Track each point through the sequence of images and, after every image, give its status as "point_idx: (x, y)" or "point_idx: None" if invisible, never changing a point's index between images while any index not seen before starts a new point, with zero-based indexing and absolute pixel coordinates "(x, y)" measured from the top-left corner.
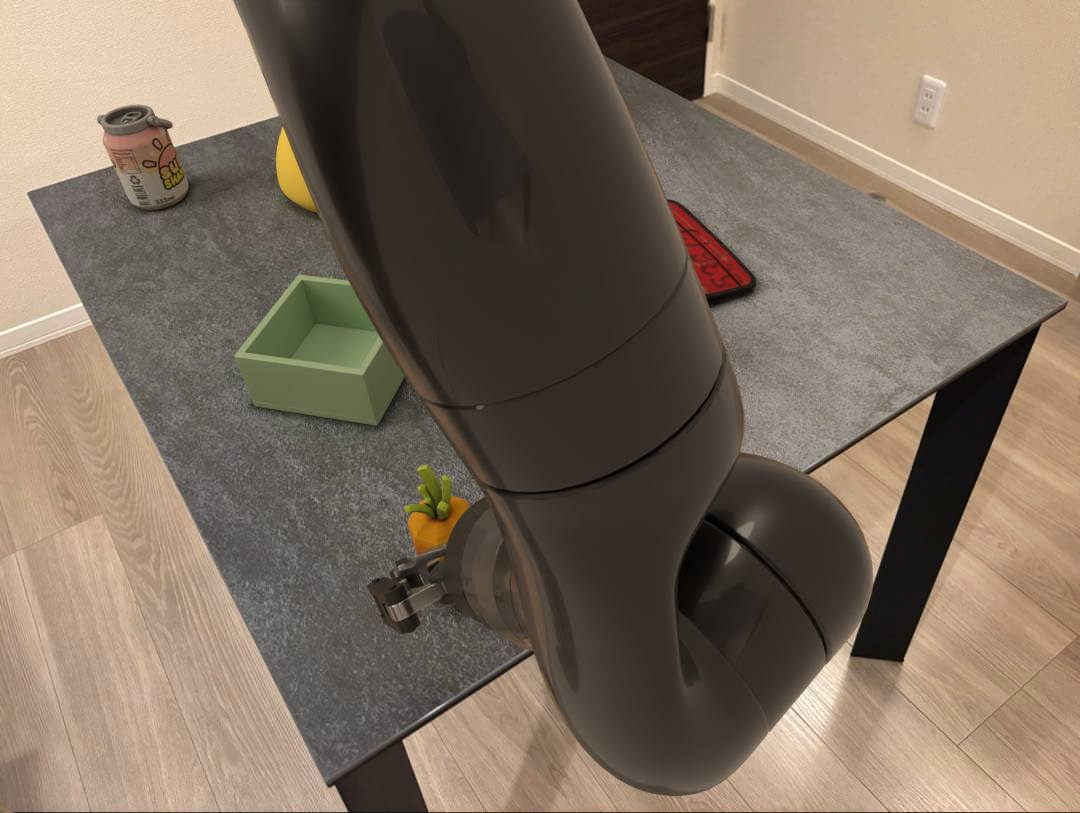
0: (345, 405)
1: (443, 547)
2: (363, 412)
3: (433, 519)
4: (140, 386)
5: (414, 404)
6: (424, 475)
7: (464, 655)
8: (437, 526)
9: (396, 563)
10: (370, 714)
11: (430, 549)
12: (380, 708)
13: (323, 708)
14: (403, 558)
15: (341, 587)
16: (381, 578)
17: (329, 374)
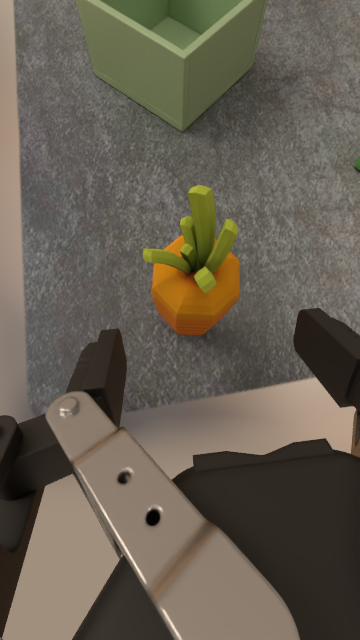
0: (161, 98)
1: (141, 567)
2: (174, 112)
3: (186, 274)
4: (18, 23)
5: (219, 124)
6: (197, 206)
7: (172, 376)
8: (187, 288)
9: (99, 338)
10: None
11: (119, 466)
12: None
13: (45, 369)
14: (113, 334)
15: (99, 267)
16: (9, 425)
17: (153, 47)
